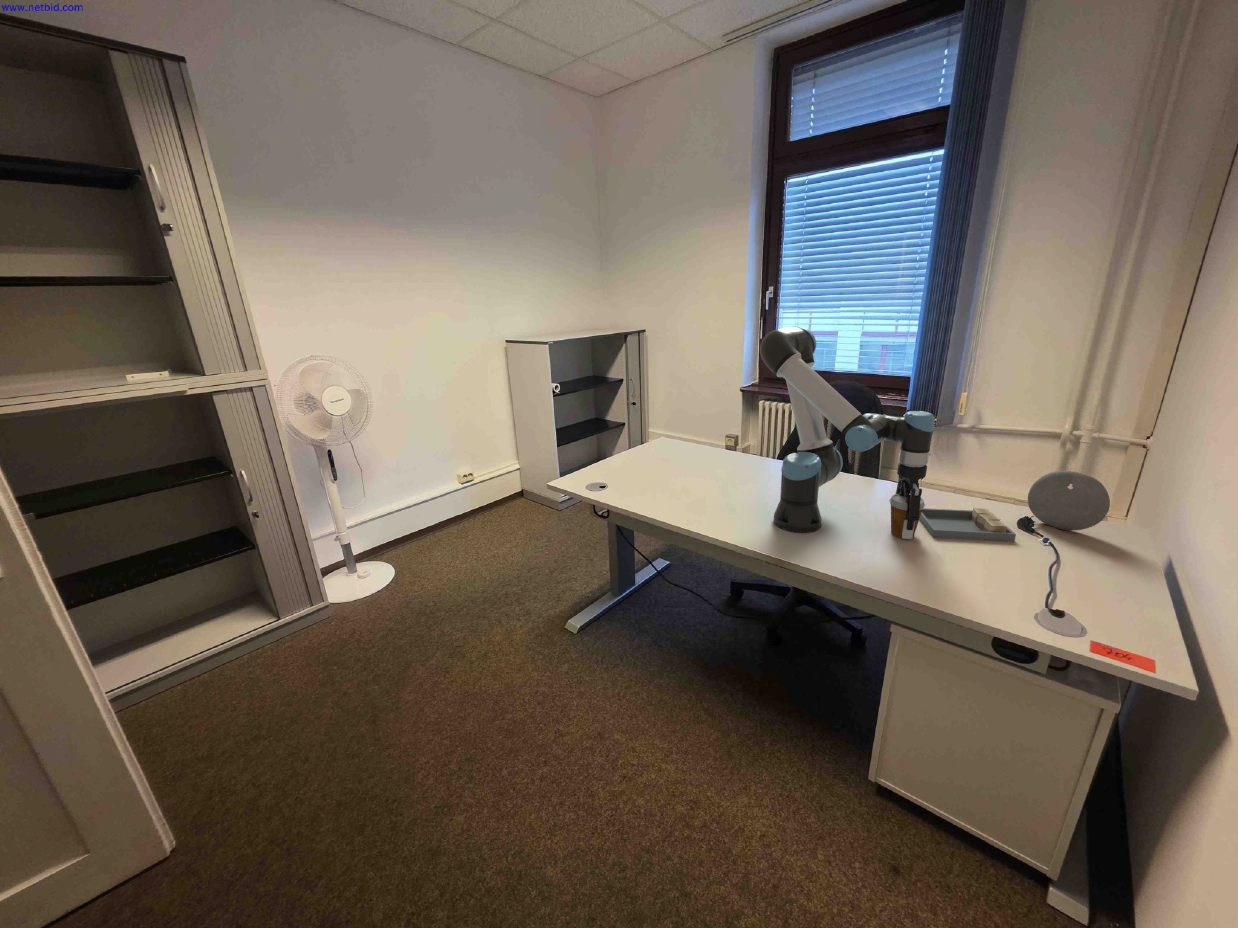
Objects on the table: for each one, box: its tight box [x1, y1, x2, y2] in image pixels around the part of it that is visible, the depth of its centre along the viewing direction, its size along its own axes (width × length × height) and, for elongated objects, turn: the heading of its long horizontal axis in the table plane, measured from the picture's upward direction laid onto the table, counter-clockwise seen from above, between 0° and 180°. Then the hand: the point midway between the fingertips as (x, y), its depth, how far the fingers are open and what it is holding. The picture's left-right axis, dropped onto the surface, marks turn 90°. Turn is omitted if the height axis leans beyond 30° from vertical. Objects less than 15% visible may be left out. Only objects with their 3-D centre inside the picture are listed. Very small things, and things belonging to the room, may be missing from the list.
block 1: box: [971, 507, 993, 524], centre depth 157 cm, size 4×4×4 cm
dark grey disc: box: [1027, 470, 1111, 531], centre depth 149 cm, size 18×7×19 cm, turn 44°
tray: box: [919, 507, 1017, 543], centre depth 154 cm, size 22×17×3 cm
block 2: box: [976, 513, 1001, 530], centre depth 152 cm, size 4×4×4 cm
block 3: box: [983, 520, 1008, 533], centre depth 148 cm, size 4×4×4 cm
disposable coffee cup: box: [889, 493, 926, 539], centre depth 152 cm, size 10×10×12 cm
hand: (902, 531), depth 153 cm, fingers closed on disposable coffee cup, 8 cm apart
